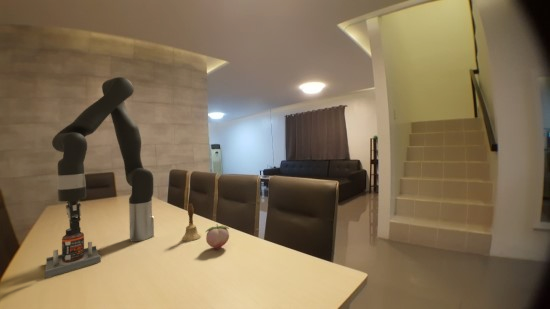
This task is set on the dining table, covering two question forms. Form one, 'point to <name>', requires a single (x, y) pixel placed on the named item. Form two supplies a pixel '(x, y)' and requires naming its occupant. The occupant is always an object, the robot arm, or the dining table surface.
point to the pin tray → (59, 267)
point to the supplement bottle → (72, 246)
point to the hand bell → (191, 227)
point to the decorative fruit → (217, 236)
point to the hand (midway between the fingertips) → (74, 230)
